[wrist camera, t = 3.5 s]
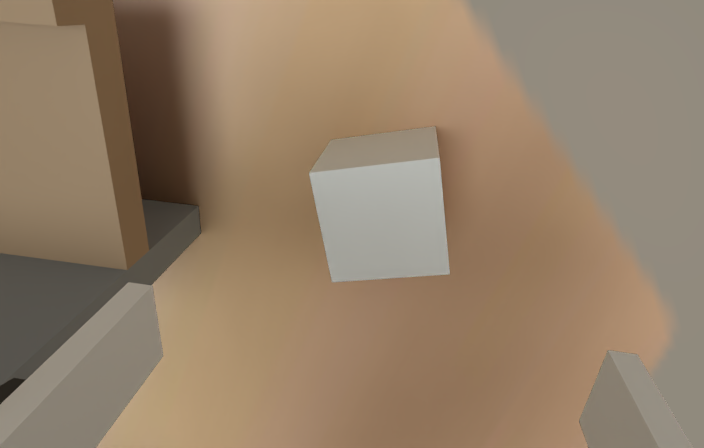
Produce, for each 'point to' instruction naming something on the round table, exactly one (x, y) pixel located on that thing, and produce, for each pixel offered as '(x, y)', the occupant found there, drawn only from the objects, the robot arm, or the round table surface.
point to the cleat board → (70, 180)
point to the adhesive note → (382, 206)
